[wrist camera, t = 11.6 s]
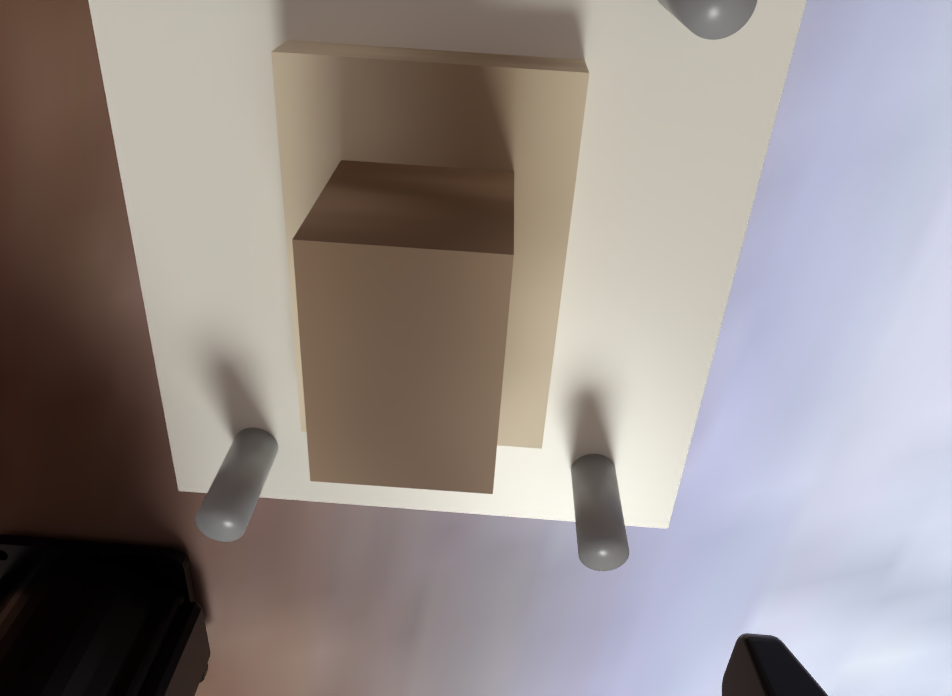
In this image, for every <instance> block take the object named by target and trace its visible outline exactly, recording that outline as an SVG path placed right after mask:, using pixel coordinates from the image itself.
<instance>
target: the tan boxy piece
mask: <svg viewBox="0 0 952 696" xmlns="http://www.w3.org/2000/svg"><path fill="white" fill-rule="evenodd" d="M271 56H272V68H273V81H274V94H275V106H276V119H277V131H278V144H279V157H280V169H281V182H282V195H283V207H284V220H285V233H286V245H287V258H288V270H289V283H290V296H291V308H292V321H293V334H294V346H295V359H296V371H297V384H298V397H299V409H300V422H301V432H307V444H308V458H309V471H310V481H315V482H329V483H343V484H357V485H371V486H385V487H399V488H413V489H427V490H441V491H455V492H468V493H482V494H493V486H494V475H495V463H496V452H497V446H511V447H525V448H539V449H542V444H543V436H544V428H545V420H546V412H547V404H548V396H549V388H550V381H551V373H552V365H553V357H554V349H555V341H556V333H557V325H558V317H559V309H560V302H561V294H562V286H563V278H564V270H565V262H566V254H567V246H568V238H569V230H570V223H571V215H572V207H573V199H574V191H575V183H576V175H577V167H578V159H579V151H580V144H581V136H582V128H583V120H584V112H585V104H586V96H587V88H588V80H589V70H588V68H587V65H586V62H585V60H578V59H563V58H548V57H533V56H518V55H503V54H488V53H473V52H458V51H443V50H428V49H413V48H398V47H382V46H367V45H352V44H337V43H322V42H307V41H292V40H287V41H285V42H284V43H283V44H281V45H280V46H278V47H277V48H276V49H274V50H273V51H272V52H271Z"/></svg>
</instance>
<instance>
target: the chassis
mask: <svg viewBox="0 0 952 696" xmlns="http://www.w3.org/2000/svg"><path fill="white" fill-rule="evenodd" d="M88 1H89V6H90V12H91V17H92V23H93V28H94V34H95V39H96V45H97V50H98V55H99V61H100V66H101V72H102V77H103V83H104V88H105V94H106V99H107V104H108V110H109V115H110V121H111V126H112V132H113V137H114V143H115V148H116V153H117V159H118V164H119V170H120V175H121V181H122V186H123V192H124V197H125V202H126V208H127V213H128V219H129V224H130V230H131V235H132V241H133V246H134V251H135V257H136V262H137V268H138V273H139V279H140V284H141V290H142V295H143V300H144V306H145V311H146V317H147V322H148V328H149V333H150V339H151V344H152V349H153V355H154V360H155V366H156V371H157V377H158V382H159V388H160V393H161V398H162V404H163V409H164V415H165V420H166V426H167V431H168V437H169V442H170V447H171V453H172V458H173V464H174V469H175V475H176V480H177V486H178V491H186V492H199V493H207V495H206V497H205V499H204V501H203V503H202V505H201V507H200V509H199V511H198V513H197V515H196V525H197V527H198V528H199V530H200V531H201V532H202V533H203V534H204V535H206V536H207V537H209V538H211V539H214V540H217V541H222V542H230V541H234V540H237V539H239V538H240V537H241V536H242V535H243V534H244V532H245V530H246V528H247V525H248V523H249V520H250V518H251V516H252V513H253V511H254V508H255V506H256V503H257V501H258V499H259V497H264V498H277V499H290V500H303V501H316V502H329V503H341V504H354V505H367V506H380V507H393V508H406V509H419V510H432V511H445V512H458V513H471V514H484V515H497V516H509V517H522V518H535V519H548V520H561V521H574V522H576V532H577V543H578V554H579V559H580V561H581V562H582V563H583V564H584V565H585V566H586V567H588V568H590V569H593V570H597V571H609V570H613V569H616V568H618V567H620V566H621V565H623V564H624V563H625V562H626V560H627V559H628V556H629V548H628V542H627V536H626V530H625V525H626V526H639V527H652V528H665V529H668V526H669V522H670V519H671V515H672V511H673V507H674V503H675V500H676V496H677V492H678V488H679V484H680V481H681V477H682V473H683V469H684V465H685V461H686V458H687V454H688V450H689V446H690V442H691V439H692V435H693V431H694V427H695V423H696V420H697V416H698V412H699V408H700V404H701V400H702V397H703V393H704V389H705V385H706V381H707V378H708V374H709V370H710V366H711V362H712V359H713V355H714V351H715V347H716V343H717V340H718V336H719V332H720V328H721V324H722V320H723V317H724V313H725V309H726V305H727V301H728V298H729V294H730V290H731V286H732V282H733V279H734V275H735V271H736V267H737V263H738V259H739V256H740V252H741V248H742V244H743V240H744V237H745V233H746V229H747V225H748V221H749V218H750V214H751V210H752V206H753V202H754V198H755V195H756V191H757V187H758V183H759V179H760V176H761V172H762V168H763V164H764V160H765V157H766V153H767V149H768V145H769V141H770V137H771V134H772V130H773V126H774V122H775V118H776V115H777V111H778V107H779V103H780V99H781V96H782V92H783V88H784V84H785V80H786V76H787V73H788V69H789V65H790V61H791V57H792V54H793V50H794V46H795V42H796V38H797V35H798V31H799V27H800V23H801V19H802V15H803V12H804V8H805V4H806V0H88ZM287 40H292V41H307V42H322V43H337V44H352V45H367V46H382V47H398V48H413V49H428V50H443V51H458V52H473V53H488V54H503V55H518V56H533V57H548V58H563V59H578V60H585V62H586V65H587V68H588V70H589V80H588V88H587V96H586V104H585V112H584V120H583V128H582V136H581V144H580V151H579V159H578V167H577V175H576V183H575V191H574V199H573V207H572V215H571V223H570V230H569V238H568V246H567V254H566V262H565V270H564V278H563V286H562V294H561V302H560V309H559V317H558V325H557V333H556V341H555V349H554V357H553V365H552V373H551V381H550V388H549V396H548V404H547V412H546V420H545V428H544V436H543V444H542V449H539V448H525V447H511V446H497V452H496V463H495V475H494V486H493V494H482V493H468V492H455V491H441V490H427V489H413V488H399V487H385V486H371V485H357V484H343V483H329V482H315V481H310V471H309V458H308V444H307V432H301V422H300V409H299V397H298V384H297V371H296V359H295V346H294V334H293V321H292V308H291V296H290V283H289V270H288V258H287V245H286V233H285V220H284V207H283V195H282V182H281V169H280V157H279V144H278V131H277V119H276V106H275V94H274V81H273V68H272V56H271V52H272V51H273V50H274V49H276V48H277V47H278V46H280V45H281V44H283V43H284V42H285V41H287Z"/></svg>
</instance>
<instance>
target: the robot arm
mask: <svg viewBox="0 0 952 696" xmlns="http://www.w3.org/2000/svg"><path fill="white" fill-rule="evenodd" d="M171 563H172V564H171ZM209 657H210V648H209V643H208V637H207V632H206V626H205V621H204V615H203V610H202V608H201V606H200V605H199V603H198V602H196V598H195V593H194V587H193V582H192V577H191V571H190V566H189V560H188V558H187V556H186V555H185V554H184V553H183V552H182V551H180V550H178V549H174V548H167V547H154V546H141V545H129V544H116V543H103V542H90V541H77V540H64V539H51V538H39V537H26V536H13V535H0V696H194V695H195V693H196V690H197V687H198V685H199V683H200V682H202V681H203V680H204V678H205V676H206V673H207V670H208V659H209ZM722 696H828V695H827V694H826V692H825V691H824V690H823V689H822V688H821V687H820V685H819V684H818V683H817V682H816V681H815V680H814V678H813V677H812V676H811V675H810V674H809V672H808V671H807V670H806V669H805V668H804V667H803V665H802V664H801V663H800V662H799V661H798V660H797V658H796V657H795V656H794V655H793V654H792V653H791V651H790V650H789V649H788V648H787V647H786V645H785V644H784V643H783V642H782V641H781V640H779V639H778V638H777V637H775V636H771V635H760V634H748V633H746V634H742V635H741V636H739V637H738V639H737V641H736V644H735V646H734V649H733V652H732V654H731V657H730V660H729V663H728V665H727V668H726V671H725V674H724V677H723V682H722Z"/></svg>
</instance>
